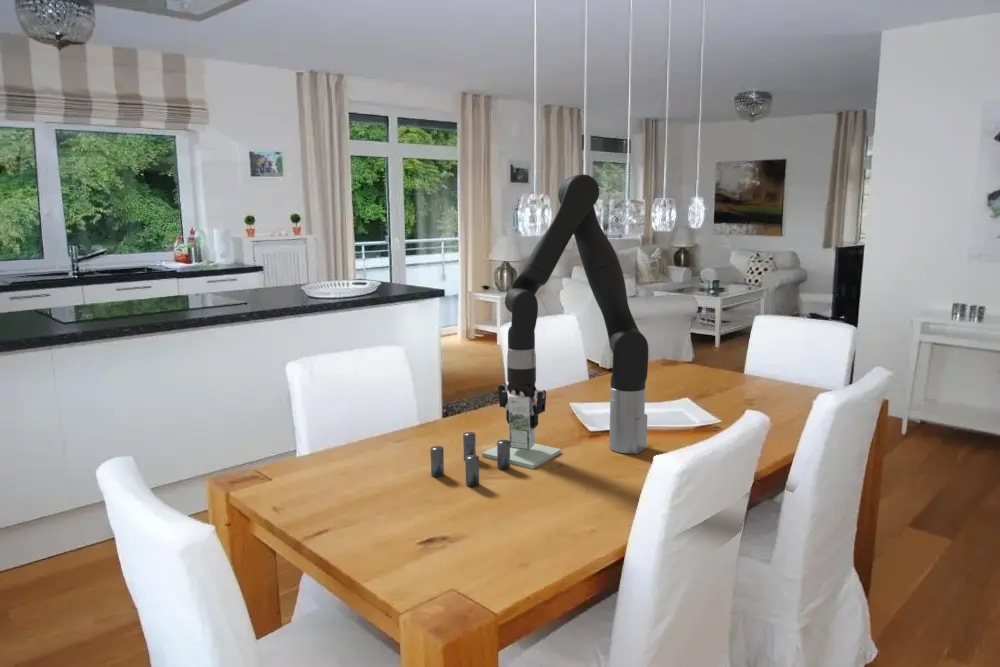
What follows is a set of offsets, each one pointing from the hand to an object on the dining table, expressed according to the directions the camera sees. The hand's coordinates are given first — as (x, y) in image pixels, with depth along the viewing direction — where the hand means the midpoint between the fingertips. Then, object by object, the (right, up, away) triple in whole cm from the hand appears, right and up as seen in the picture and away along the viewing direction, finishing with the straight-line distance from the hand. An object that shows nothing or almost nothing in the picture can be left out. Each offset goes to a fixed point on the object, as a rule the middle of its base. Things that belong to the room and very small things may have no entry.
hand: (522, 425), depth 186 cm
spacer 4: (-5, -10, -8) cm, 13 cm away
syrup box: (0, -6, +1) cm, 6 cm away
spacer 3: (-12, -12, -18) cm, 25 cm away
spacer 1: (-21, -11, -12) cm, 27 cm away
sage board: (0, -8, +1) cm, 8 cm away
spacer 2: (-14, -9, -1) cm, 16 cm away
